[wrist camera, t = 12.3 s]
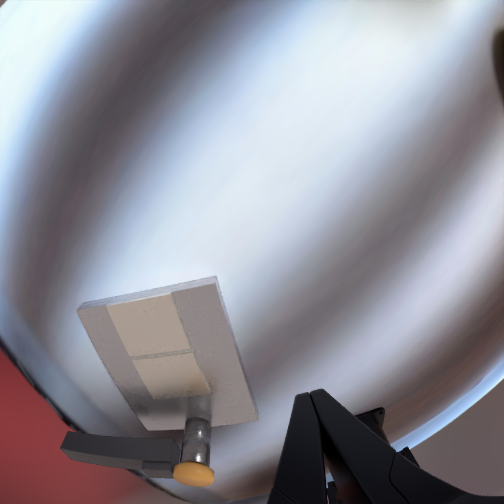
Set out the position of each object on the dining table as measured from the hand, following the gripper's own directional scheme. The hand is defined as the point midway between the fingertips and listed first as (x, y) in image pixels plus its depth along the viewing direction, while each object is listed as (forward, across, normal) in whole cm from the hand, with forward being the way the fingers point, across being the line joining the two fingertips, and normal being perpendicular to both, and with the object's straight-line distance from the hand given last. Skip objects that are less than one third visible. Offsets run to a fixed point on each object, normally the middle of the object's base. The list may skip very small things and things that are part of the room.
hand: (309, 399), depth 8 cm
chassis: (+12, +9, +7) cm, 17 cm away
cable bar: (+8, +15, +13) cm, 22 cm away
